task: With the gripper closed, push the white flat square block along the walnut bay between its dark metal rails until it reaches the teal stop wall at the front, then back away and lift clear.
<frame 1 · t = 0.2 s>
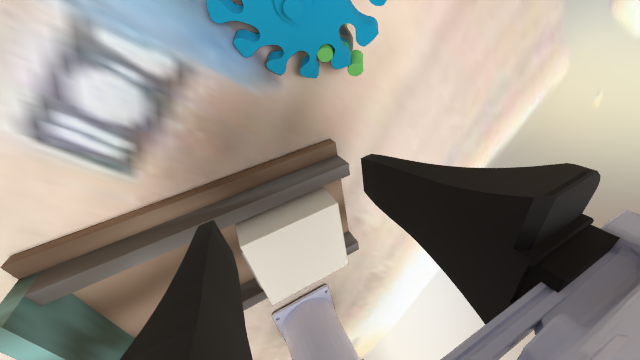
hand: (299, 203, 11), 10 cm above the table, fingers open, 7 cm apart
bay: (231, 245, 22), on the table
white flat square block: (293, 242, 21), point 3 cm above the table, slide at 0.0 cm
gear: (281, 13, 16), on the table
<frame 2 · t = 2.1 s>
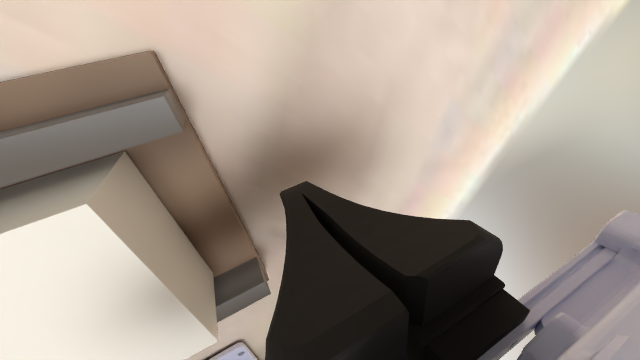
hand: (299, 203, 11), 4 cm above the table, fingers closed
white flat square block: (56, 303, 9), point 3 cm above the table, slide at 0.0 cm
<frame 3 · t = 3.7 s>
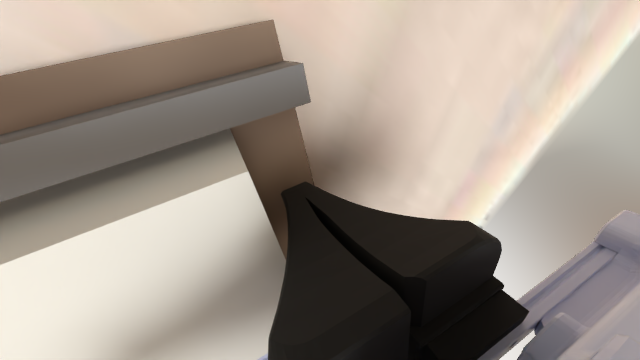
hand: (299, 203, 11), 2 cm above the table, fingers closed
bay: (40, 284, 9), on the table
white flat square block: (165, 283, 8), point 3 cm above the table, slide at 0.3 cm, touching gripper
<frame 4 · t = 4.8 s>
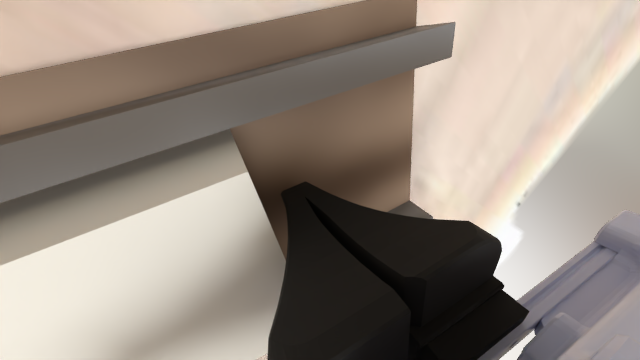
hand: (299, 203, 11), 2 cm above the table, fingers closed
bay: (201, 218, 11), on the table
white flat square block: (165, 283, 8), point 3 cm above the table, slide at 6.7 cm, touching gripper
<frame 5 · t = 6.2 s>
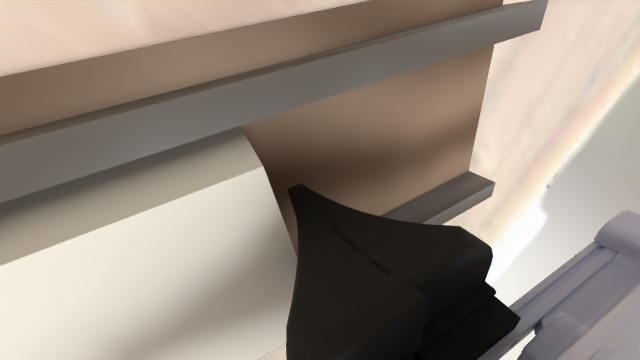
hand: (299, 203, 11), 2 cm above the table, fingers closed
bay: (308, 174, 13), on the table
white flat square block: (176, 279, 8), point 3 cm above the table, slide at 12.0 cm, touching gripper
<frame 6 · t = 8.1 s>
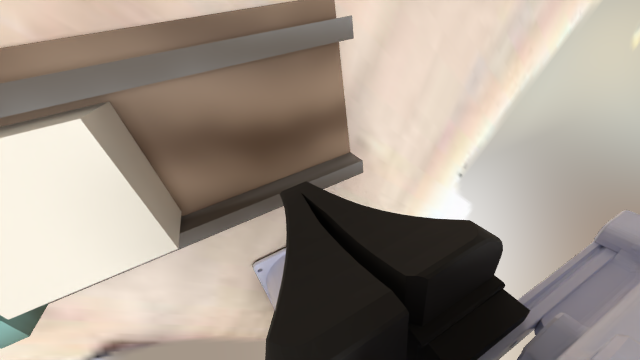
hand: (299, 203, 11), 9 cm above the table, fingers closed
bay: (190, 146, 16), on the table
white flat square block: (57, 207, 12), point 3 cm above the table, slide at 11.9 cm
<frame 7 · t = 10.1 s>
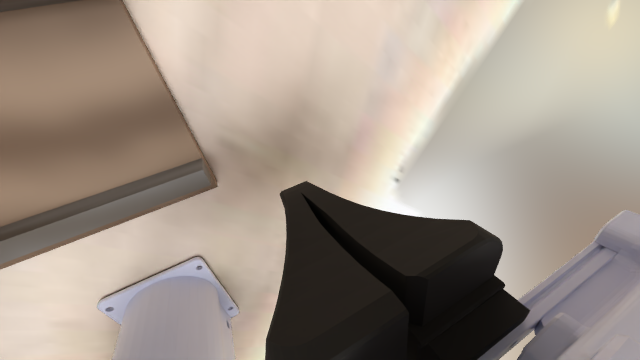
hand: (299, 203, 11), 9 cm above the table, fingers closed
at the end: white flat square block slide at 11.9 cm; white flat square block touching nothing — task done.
